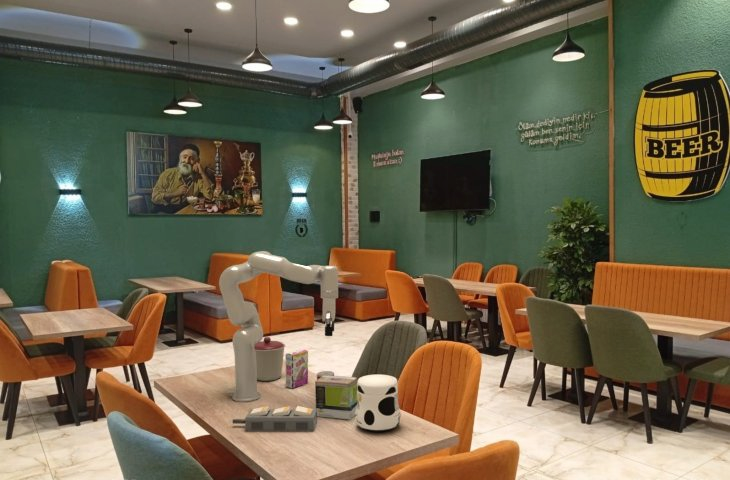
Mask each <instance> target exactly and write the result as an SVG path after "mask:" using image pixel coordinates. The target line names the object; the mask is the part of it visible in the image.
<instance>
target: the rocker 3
mask: <svg viewBox="0 0 730 480" xmlns="http://www.w3.org/2000/svg"><path fill="white" fill-rule="evenodd" d="M295 409H296V410H295V415H299V416H310V415H311V413H312V410H313V409H314V408H309V407H305V406H301V405H297V407H296V408H295Z"/></svg>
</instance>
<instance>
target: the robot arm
mask: <svg viewBox="0 0 730 480" xmlns="http://www.w3.org/2000/svg"><path fill="white" fill-rule="evenodd" d="M263 273H264V274H267V275H268V274H269V275H273V276H277V277H281V278H283V279H285V280H288V281H291V282H295V283H301V284H303V285H304V284H306V285H311V284H313V283H317V282H320V298H321V299H322V317H321V318H322V322H323V323H324V322H325V324H324V336H325V337H333V336H334V335H333V332H334V331H335V319H336V299H338V298H339V268H338V267H337V266H336V265H319V264H310V265H307V266H306V265H302V264H298V263H293V262H291V261H289V260H288V259H287V258H286V257H284V256H279V255H274V254H271V252H269V251H265V250H261V251H254V252H253V253H251V254H250V255H249V256H248V259H247V261H245V262H243V263H240V264H234V265H231V266H229V267H227V268H225V269H224V270H223V271H222V273H221V274H220V276H219V280H218V284H219V291H220V293H221V296H222V299H223V302H224V307H225V310H226V312H227V313H226V314H227V316H228V320H229V322H230V323H231V324H232V325H233V326H235V327H239V326H241V328H239V329H237V330H236V331H235V332H234V334H233V337H232V347H233V353H234V354H233V355H234V375H235V376H234V378H235V379H234V381H235V387H232V388H231V387H227V388H226V393H227V394H229V395H231V394H232V396H231V398H232V400H233V401H235V402H252V401H257V400H258V399H260V398H261V395H262V394H261V392H260V391H258V380H257V362H256V352H255V348H254V345H256V344H258V343H259V342H261V341H263V339H264V330H263V327H262V323H261V319H260V316H259V313H258V311H257V307H255V305H254V304H253V303H251V302H249V301H245V299H244V295H243V293H242V291H241V289H240V288H239V284H243V283H247V282H250V281H252V280H253V279H254V278H257V277H258V276H260V275H261V274H263Z"/></svg>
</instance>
